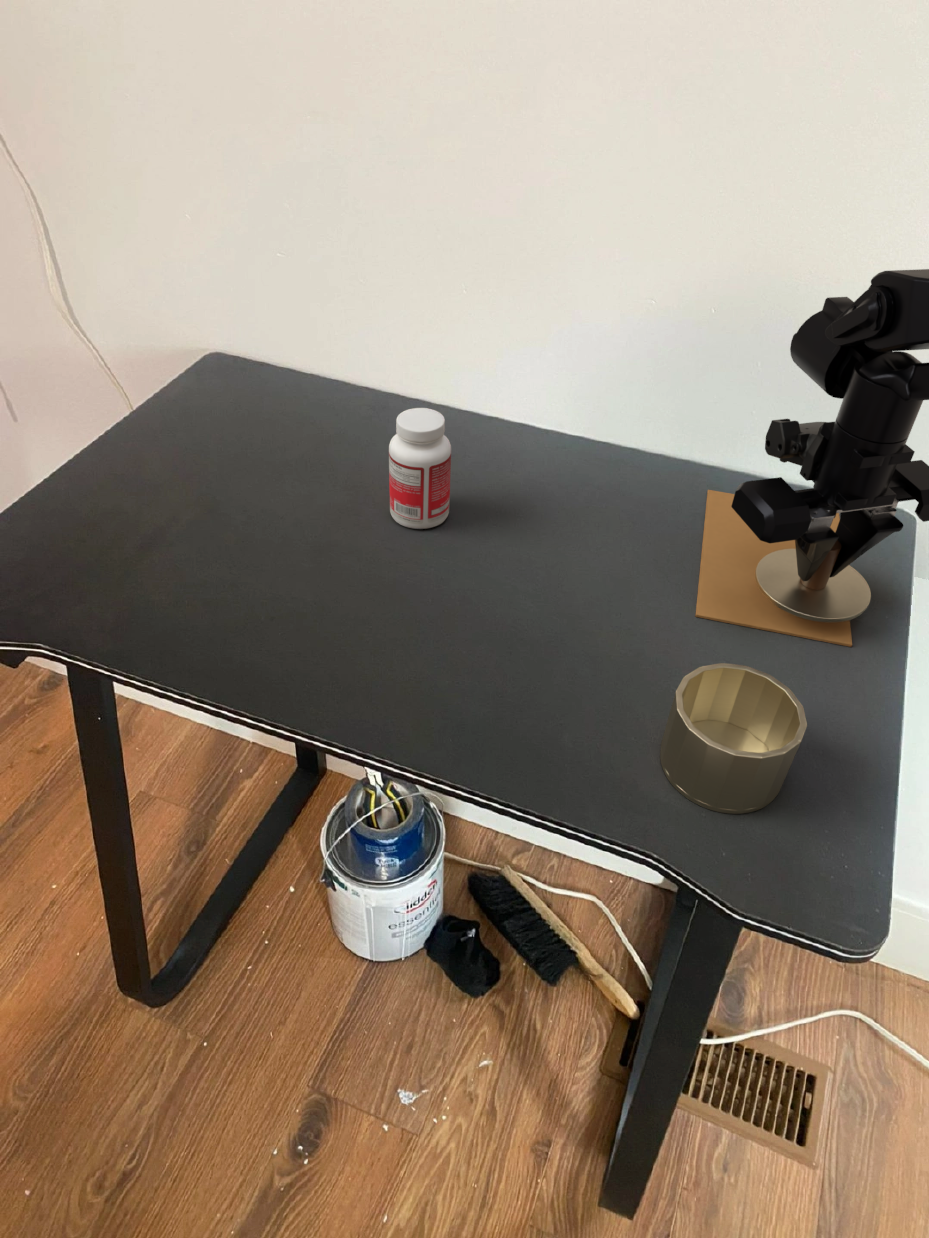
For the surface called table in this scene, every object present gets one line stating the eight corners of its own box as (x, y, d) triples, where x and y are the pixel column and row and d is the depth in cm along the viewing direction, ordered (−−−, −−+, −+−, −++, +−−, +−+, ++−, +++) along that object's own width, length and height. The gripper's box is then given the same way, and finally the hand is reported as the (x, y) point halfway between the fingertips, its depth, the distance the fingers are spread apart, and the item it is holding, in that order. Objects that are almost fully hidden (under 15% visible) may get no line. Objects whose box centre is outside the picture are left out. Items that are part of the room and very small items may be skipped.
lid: (826, 551, 91) (844, 504, 87) (890, 618, 84) (912, 570, 80) (733, 565, 89) (747, 517, 85) (790, 635, 81) (808, 586, 78)
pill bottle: (443, 495, 98) (446, 402, 91) (454, 528, 94) (458, 433, 87) (385, 499, 97) (384, 405, 90) (393, 533, 93) (393, 437, 85)
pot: (744, 711, 76) (764, 655, 72) (805, 800, 70) (831, 743, 65) (640, 731, 74) (655, 674, 70) (693, 825, 67) (712, 768, 63)
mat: (838, 514, 99) (839, 512, 99) (851, 647, 83) (852, 644, 83) (707, 491, 101) (708, 489, 101) (695, 616, 85) (695, 614, 85)
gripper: (908, 372, 83) (852, 515, 93) (722, 390, 78) (685, 538, 89) (993, 433, 75) (921, 583, 85) (791, 457, 70) (741, 612, 81)
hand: (815, 576), depth 85 cm, fingers closed on lid, 2 cm apart
